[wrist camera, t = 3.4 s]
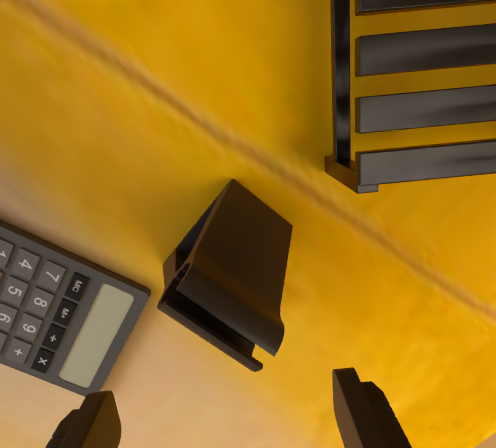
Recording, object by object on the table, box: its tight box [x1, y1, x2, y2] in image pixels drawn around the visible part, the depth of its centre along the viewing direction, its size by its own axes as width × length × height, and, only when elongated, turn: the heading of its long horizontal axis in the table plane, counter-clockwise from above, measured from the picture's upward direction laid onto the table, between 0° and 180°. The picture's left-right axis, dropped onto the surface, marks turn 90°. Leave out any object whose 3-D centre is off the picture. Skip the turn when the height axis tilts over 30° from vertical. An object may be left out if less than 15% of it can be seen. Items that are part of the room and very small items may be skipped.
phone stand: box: [157, 178, 293, 372], centre depth 23 cm, size 9×6×12 cm, turn 140°
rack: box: [325, 0, 496, 194], centre depth 22 cm, size 16×14×8 cm
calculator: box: [0, 221, 151, 397], centre depth 29 cm, size 12×1×15 cm
